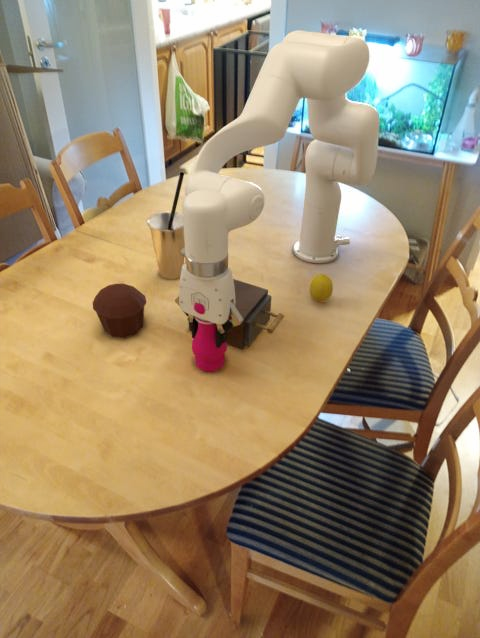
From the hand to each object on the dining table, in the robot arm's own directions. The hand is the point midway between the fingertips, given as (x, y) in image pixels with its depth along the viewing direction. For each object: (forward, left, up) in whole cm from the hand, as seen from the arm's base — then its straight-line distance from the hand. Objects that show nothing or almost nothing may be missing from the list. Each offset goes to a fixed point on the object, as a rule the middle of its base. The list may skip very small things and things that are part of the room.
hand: (209, 338), depth 95 cm
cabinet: (-7, -11, -7) cm, 14 cm away
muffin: (+16, -17, -7) cm, 24 cm away
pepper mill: (0, 0, -7) cm, 7 cm away
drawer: (-10, -8, -6) cm, 14 cm away
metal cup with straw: (+1, -35, -7) cm, 36 cm away
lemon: (-31, -13, -7) cm, 34 cm away
